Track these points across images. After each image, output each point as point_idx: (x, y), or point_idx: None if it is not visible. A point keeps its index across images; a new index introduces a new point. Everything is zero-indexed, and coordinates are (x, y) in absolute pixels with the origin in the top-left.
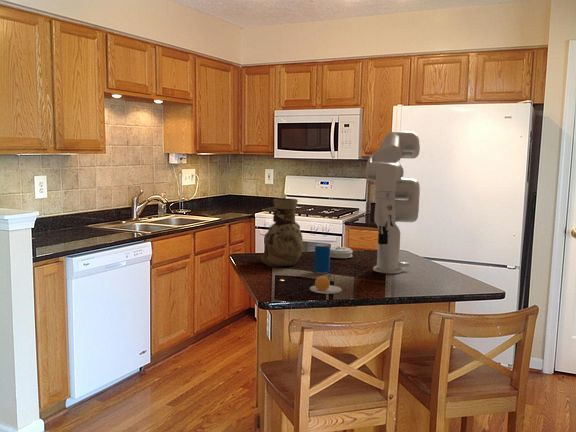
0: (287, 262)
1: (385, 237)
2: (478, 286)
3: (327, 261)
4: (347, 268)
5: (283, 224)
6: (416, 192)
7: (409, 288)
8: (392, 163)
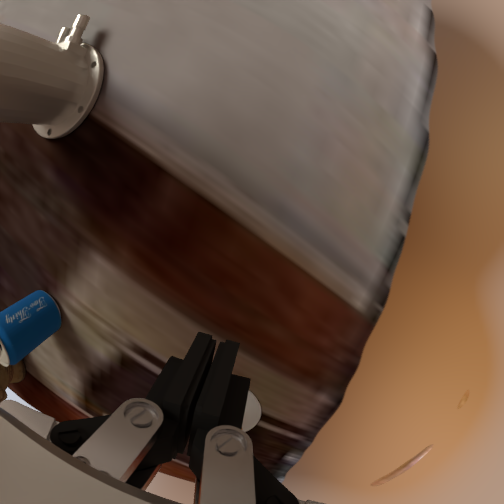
0: None
1: (241, 417)
2: None
3: (37, 323)
4: (19, 208)
5: None
6: None
7: (307, 147)
8: None
